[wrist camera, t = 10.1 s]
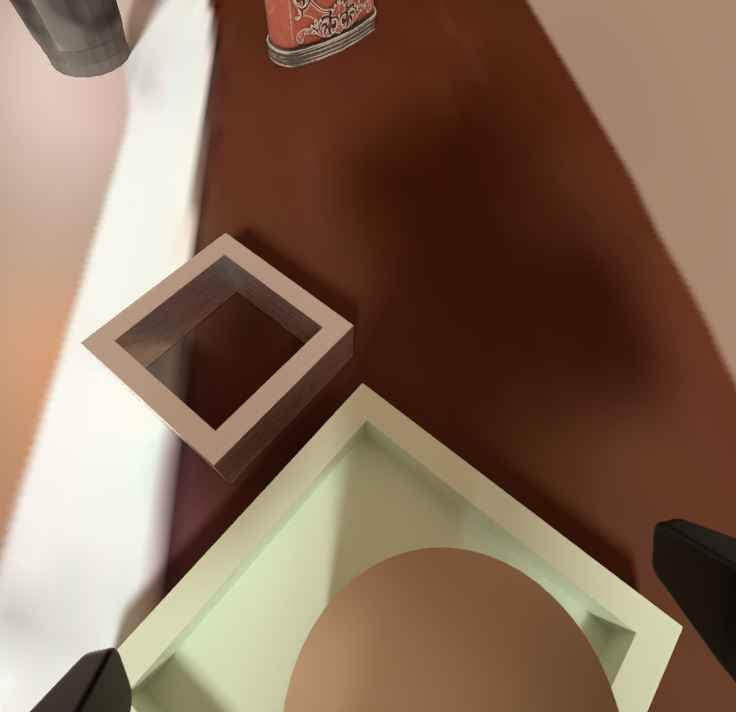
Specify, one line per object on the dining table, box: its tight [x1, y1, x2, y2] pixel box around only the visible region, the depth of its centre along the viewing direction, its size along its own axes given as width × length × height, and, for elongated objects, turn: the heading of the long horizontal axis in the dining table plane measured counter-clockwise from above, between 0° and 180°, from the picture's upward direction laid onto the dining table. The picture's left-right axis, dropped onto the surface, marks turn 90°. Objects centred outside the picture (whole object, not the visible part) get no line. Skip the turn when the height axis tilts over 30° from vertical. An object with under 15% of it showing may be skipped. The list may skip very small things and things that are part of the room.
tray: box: [117, 383, 683, 712], centre depth 14 cm, size 12×12×2 cm
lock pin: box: [283, 547, 619, 712], centre depth 10 cm, size 4×4×10 cm
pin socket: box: [81, 233, 354, 485], centre depth 18 cm, size 7×7×2 cm
